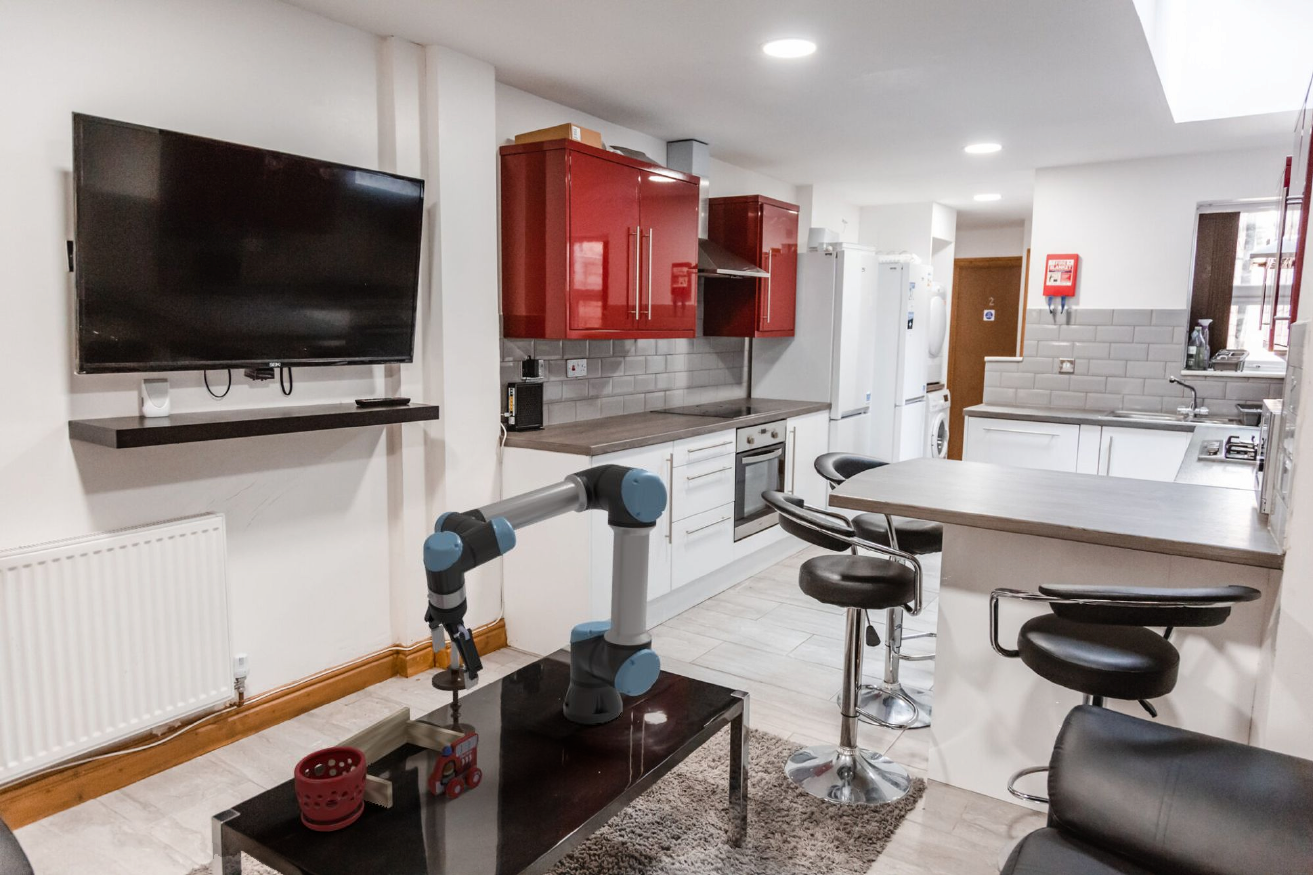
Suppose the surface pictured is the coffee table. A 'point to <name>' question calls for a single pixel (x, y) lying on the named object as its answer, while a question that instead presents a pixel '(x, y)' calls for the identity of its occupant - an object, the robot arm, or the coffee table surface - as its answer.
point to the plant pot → (331, 788)
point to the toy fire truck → (456, 767)
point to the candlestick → (453, 689)
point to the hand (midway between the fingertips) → (455, 667)
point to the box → (393, 747)
